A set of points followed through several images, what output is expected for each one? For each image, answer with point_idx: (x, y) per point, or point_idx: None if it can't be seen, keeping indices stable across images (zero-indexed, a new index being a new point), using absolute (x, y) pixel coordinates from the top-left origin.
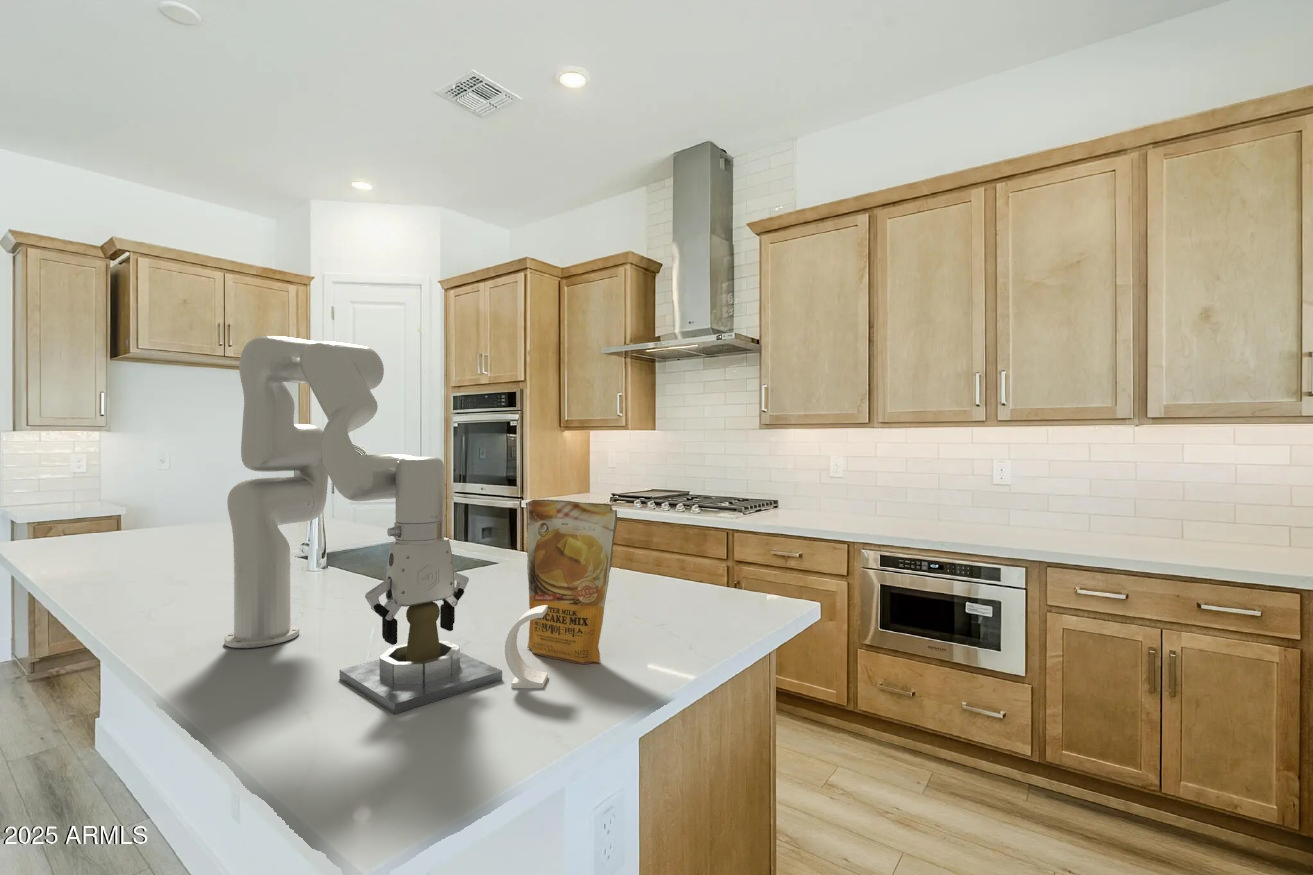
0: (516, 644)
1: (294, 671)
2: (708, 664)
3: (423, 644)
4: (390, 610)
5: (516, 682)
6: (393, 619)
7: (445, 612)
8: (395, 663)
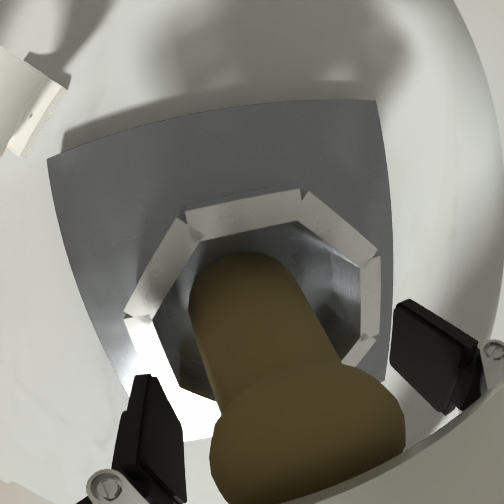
0: None
1: None
2: None
3: (288, 305)
4: None
5: (52, 84)
6: (473, 351)
7: (164, 460)
8: (371, 257)
